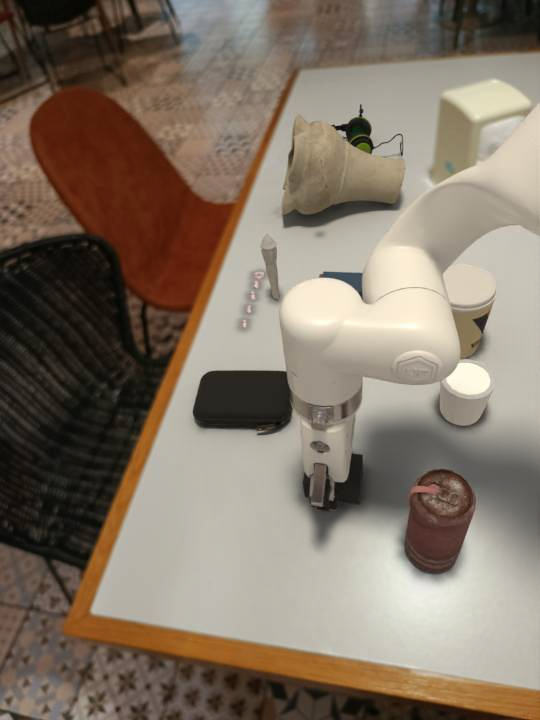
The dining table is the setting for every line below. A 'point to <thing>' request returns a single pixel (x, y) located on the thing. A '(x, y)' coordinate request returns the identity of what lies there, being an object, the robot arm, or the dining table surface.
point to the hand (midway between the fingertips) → (329, 471)
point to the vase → (334, 171)
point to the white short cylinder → (466, 392)
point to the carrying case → (243, 398)
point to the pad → (347, 489)
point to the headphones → (361, 133)
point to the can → (438, 519)
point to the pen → (271, 263)
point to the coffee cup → (470, 302)
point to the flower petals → (253, 293)
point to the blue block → (347, 279)
